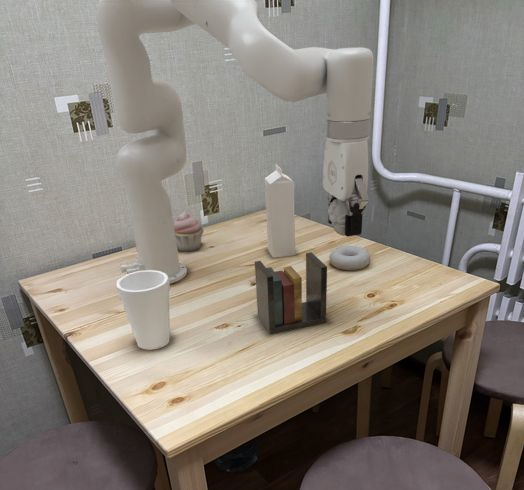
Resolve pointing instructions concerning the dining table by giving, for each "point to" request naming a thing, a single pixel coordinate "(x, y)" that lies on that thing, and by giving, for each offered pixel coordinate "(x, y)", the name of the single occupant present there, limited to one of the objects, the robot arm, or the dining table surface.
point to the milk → (280, 214)
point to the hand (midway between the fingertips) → (344, 228)
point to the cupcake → (188, 232)
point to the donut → (349, 257)
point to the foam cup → (147, 306)
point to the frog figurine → (338, 215)
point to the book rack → (291, 296)
